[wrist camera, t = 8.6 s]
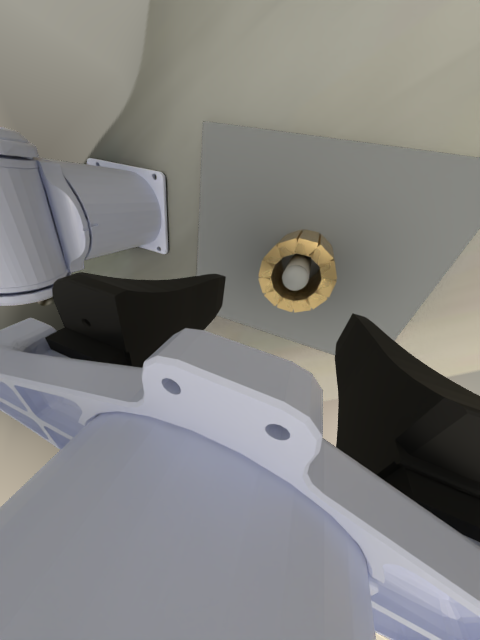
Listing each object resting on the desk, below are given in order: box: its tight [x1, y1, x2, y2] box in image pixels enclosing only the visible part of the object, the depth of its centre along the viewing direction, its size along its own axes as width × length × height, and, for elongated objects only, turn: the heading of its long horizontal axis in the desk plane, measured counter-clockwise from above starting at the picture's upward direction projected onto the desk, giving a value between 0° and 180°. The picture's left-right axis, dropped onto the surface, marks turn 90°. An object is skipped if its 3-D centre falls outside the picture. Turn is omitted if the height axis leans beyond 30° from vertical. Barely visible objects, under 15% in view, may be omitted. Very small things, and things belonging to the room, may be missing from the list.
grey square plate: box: [197, 121, 480, 355], centre depth 17 cm, size 22×18×6 cm
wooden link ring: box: [258, 229, 337, 313], centre depth 17 cm, size 6×6×5 cm
